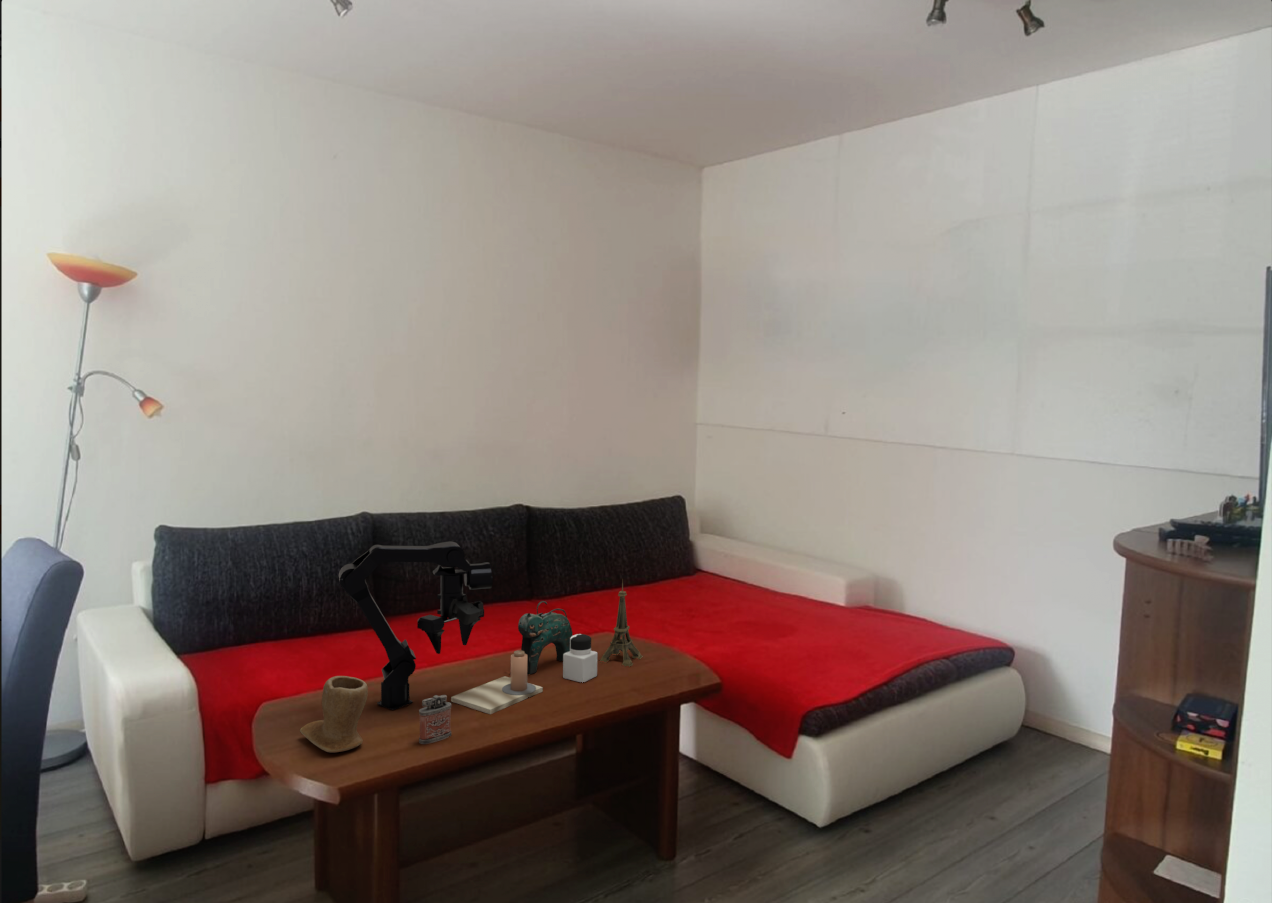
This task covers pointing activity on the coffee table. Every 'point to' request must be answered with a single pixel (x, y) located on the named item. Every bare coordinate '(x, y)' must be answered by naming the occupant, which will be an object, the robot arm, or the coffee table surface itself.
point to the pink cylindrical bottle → (518, 671)
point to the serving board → (494, 695)
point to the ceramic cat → (544, 635)
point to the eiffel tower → (620, 632)
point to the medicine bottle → (580, 659)
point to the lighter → (435, 719)
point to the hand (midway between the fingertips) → (451, 649)
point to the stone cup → (339, 715)
